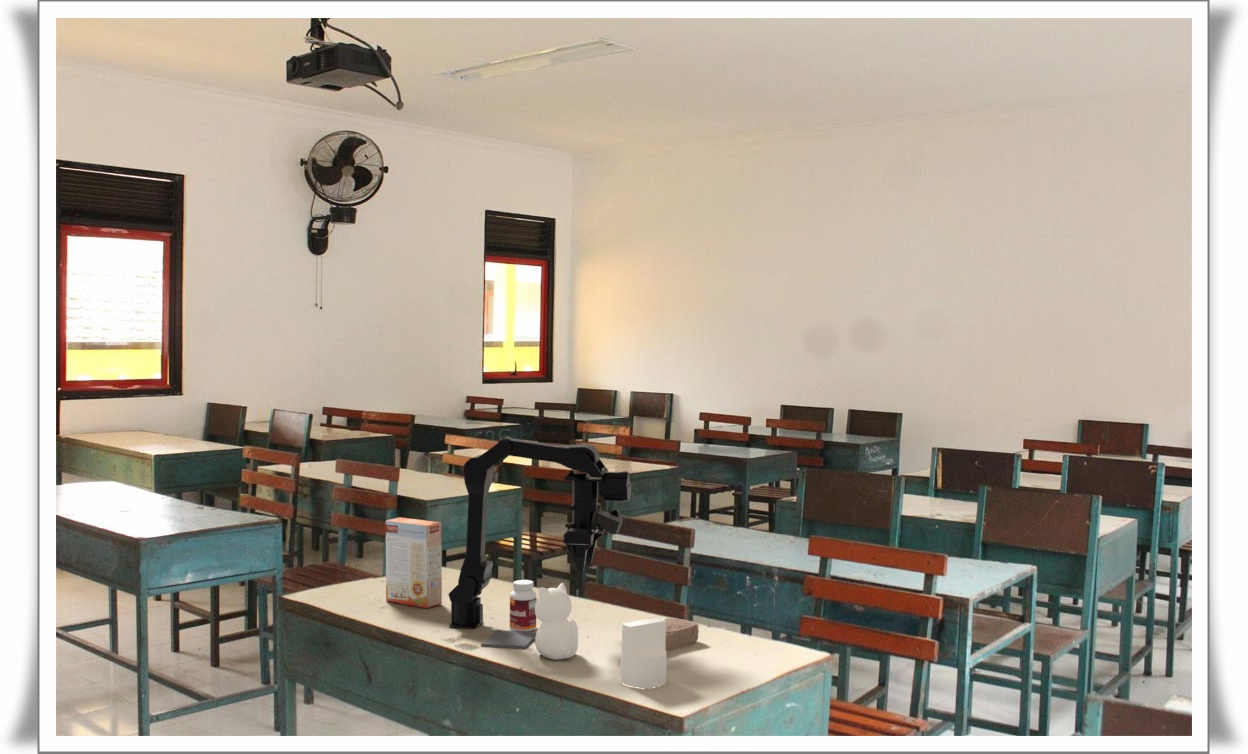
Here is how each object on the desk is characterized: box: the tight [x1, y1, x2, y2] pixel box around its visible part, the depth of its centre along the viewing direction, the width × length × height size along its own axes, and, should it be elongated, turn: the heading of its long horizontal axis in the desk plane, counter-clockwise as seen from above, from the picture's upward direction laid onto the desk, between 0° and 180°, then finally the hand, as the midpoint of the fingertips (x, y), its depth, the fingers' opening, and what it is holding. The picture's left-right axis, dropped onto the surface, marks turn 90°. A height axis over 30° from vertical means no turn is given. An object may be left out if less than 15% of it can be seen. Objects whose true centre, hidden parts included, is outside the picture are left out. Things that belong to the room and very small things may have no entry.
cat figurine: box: [535, 582, 579, 661], centre depth 239 cm, size 9×12×15 cm
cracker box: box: [385, 517, 443, 609], centre depth 283 cm, size 14×6×21 cm, turn 58°
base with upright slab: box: [620, 616, 667, 689], centre depth 223 cm, size 9×9×12 cm
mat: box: [480, 629, 537, 650], centre depth 251 cm, size 10×11×1 cm
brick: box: [663, 617, 700, 652], centre depth 248 cm, size 17×8×5 cm, turn 133°
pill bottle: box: [509, 579, 538, 632], centre depth 260 cm, size 6×6×11 cm
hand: (585, 567), depth 258 cm, fingers open, 9 cm apart
